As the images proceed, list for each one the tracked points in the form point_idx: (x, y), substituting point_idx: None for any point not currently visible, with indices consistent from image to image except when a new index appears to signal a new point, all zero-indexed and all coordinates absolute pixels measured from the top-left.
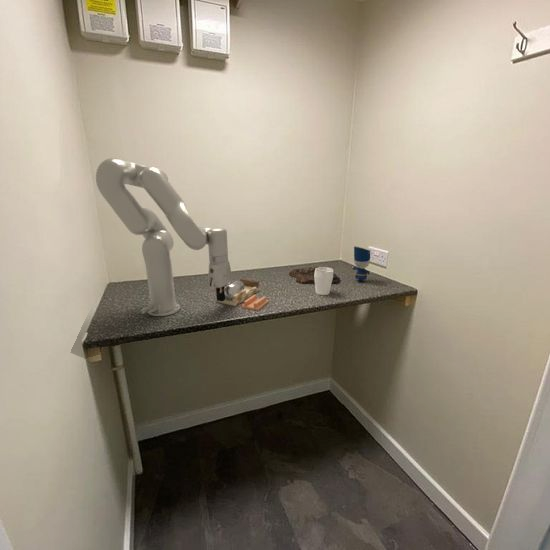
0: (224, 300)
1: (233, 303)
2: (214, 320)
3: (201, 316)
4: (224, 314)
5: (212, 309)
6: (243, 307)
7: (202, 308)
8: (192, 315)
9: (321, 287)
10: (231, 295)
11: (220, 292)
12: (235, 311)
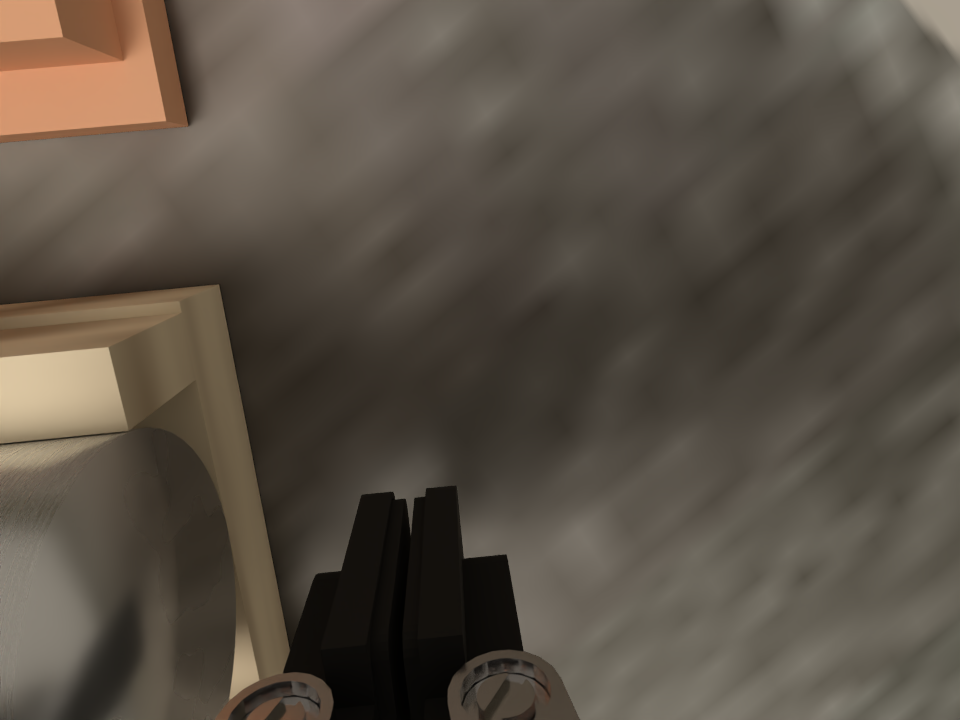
0: (247, 576)
1: (211, 343)
2: (952, 202)
3: (902, 499)
4: (657, 214)
5: (590, 542)
6: (173, 63)
7: (641, 693)
8: (925, 633)
9: None
10: (133, 465)
11: (557, 676)
12: (427, 109)
